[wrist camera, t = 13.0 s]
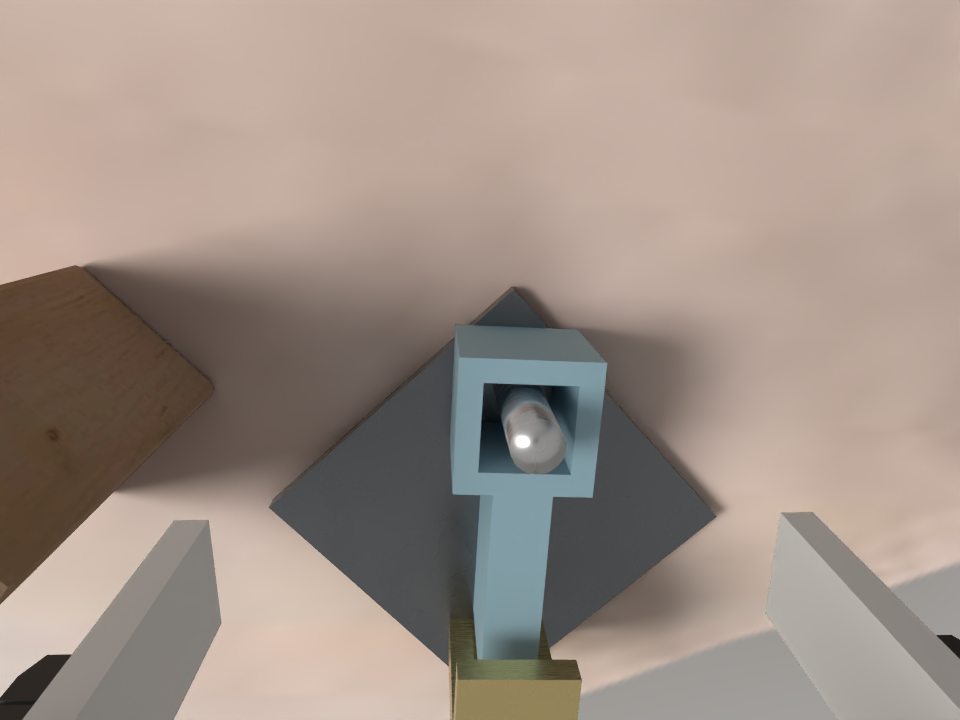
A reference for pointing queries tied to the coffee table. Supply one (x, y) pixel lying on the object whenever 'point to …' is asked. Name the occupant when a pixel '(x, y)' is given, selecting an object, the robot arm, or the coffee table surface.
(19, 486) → the wooden block
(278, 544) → the coffee table surface
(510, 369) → the link
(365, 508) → the plate
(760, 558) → the coffee table surface
